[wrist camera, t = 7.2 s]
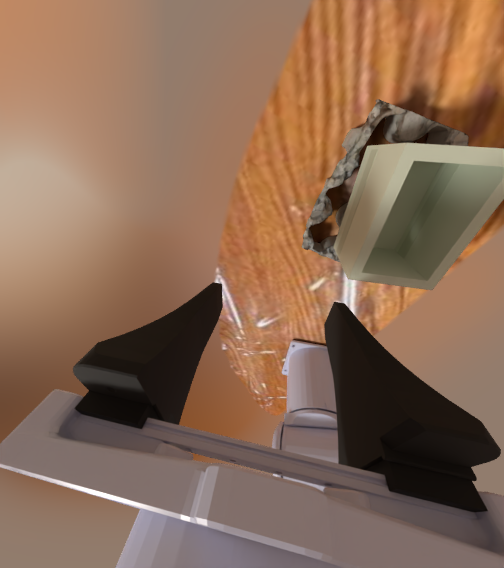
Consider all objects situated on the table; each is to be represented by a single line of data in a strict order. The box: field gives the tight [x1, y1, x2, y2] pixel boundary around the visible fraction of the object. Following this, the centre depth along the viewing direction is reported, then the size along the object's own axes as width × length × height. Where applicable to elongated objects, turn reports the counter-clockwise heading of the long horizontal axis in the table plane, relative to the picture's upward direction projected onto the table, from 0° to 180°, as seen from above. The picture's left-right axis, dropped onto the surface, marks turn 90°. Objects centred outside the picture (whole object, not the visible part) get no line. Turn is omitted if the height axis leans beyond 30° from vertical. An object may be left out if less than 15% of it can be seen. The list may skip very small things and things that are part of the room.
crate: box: [334, 143, 504, 290], centre depth 12 cm, size 7×5×5 cm
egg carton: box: [302, 100, 468, 262], centre depth 15 cm, size 11×8×4 cm
